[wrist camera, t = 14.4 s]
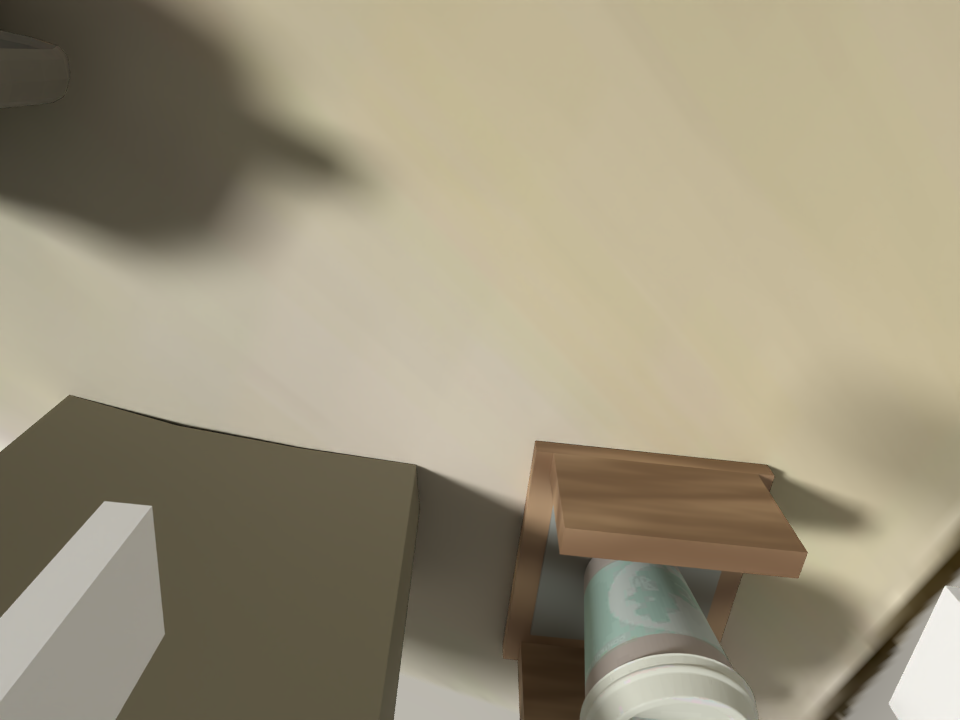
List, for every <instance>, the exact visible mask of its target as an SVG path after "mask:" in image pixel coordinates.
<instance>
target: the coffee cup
mask: <svg viewBox="0 0 960 720" xmlns="http://www.w3.org/2000/svg"><path fill="white" fill-rule="evenodd" d="M584 649H585V700H584V702H583V705H582V708H581V712H580V720H759V719H758V712H757V709H756V701H755V698H754V695H753V692H752V690H751V688H750V687H749V685H748V684H747V682H746V681H745V680H744V679H743V678H742V677H741V676H740V675H739V674H738V673H737V672H736V671H734V669H733V667H732V665H731V664H730V662H729V660H728V658H727V656H726V654H725V653H724V651H723V649H722V647H721V645H720V643H719V642H718V640H717V638H716V636H715V634H714V632H713V631H712V629H711V627H710V625H709V623H708V622H707V620H706V618H705V616H704V614H703V612H702V611H701V609H700V607H699V605H698V603H697V601H696V600H695V598H694V596H693V594H692V592H691V590H690V589H689V587H688V585H687V583H686V581H685V580H684V578H683V576H682V574H681V572H680V571H679V569H678V567H677V566H670V565H661V564H651V563H641V562H631V561H621V560H611V559H601V558H592V559H591V561H590V562H589V564H588V565H587V567H586V570H585V574H584Z"/></svg>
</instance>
